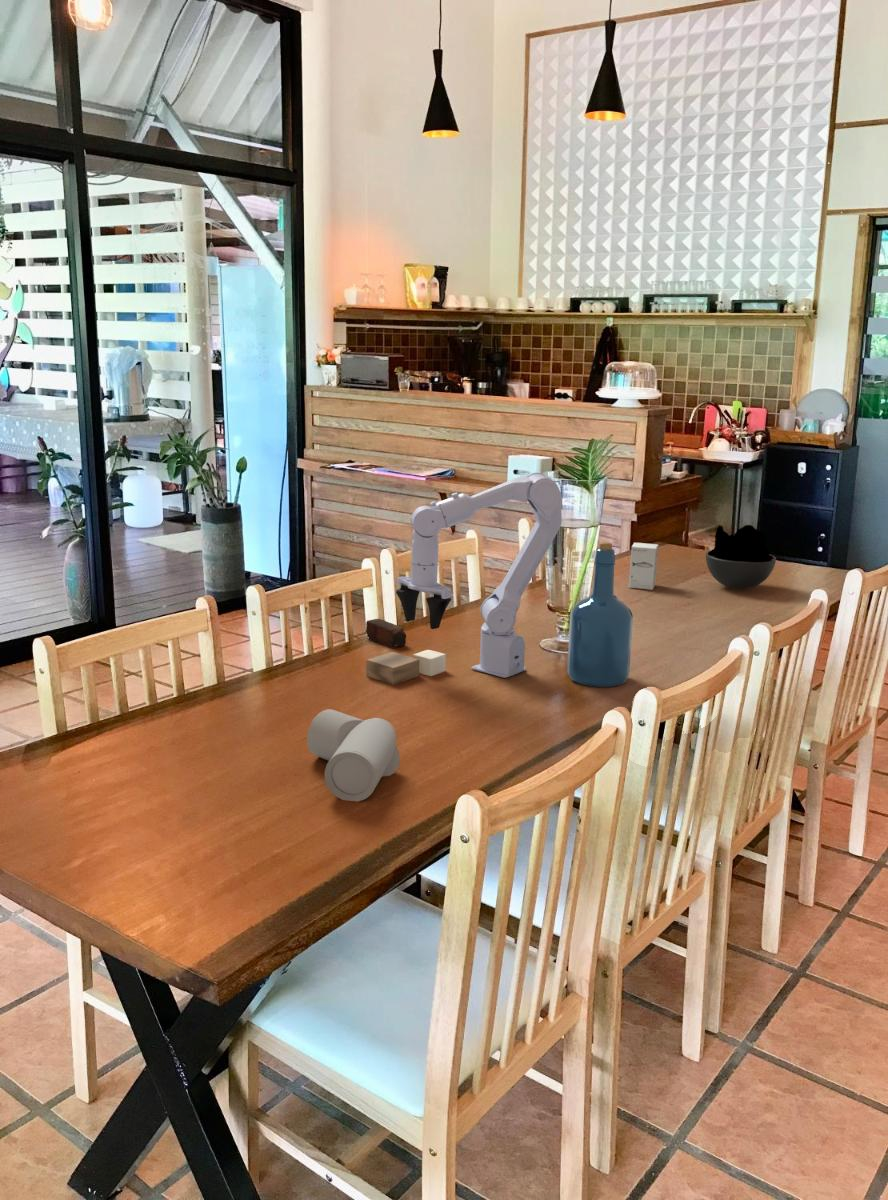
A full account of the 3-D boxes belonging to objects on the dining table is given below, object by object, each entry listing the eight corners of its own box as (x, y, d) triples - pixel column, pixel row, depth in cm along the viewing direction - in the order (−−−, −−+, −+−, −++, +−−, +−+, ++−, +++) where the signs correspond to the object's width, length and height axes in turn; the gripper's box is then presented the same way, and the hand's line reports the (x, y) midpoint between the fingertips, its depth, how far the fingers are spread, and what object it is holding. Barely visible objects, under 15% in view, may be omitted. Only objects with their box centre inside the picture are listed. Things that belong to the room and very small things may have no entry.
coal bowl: (780, 587, 311) (786, 525, 306) (762, 600, 294) (768, 535, 290) (715, 577, 321) (720, 518, 316) (693, 590, 304) (699, 527, 300)
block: (445, 671, 227) (445, 654, 226) (430, 676, 223) (430, 659, 222) (427, 666, 230) (428, 649, 229) (413, 671, 226) (413, 654, 225)
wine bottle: (627, 691, 216) (637, 550, 208) (564, 686, 218) (571, 546, 211) (629, 671, 229) (638, 538, 221) (569, 666, 231) (576, 534, 224)
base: (418, 677, 223) (419, 659, 222) (393, 686, 217) (393, 667, 216) (392, 669, 228) (392, 651, 227) (366, 677, 222) (366, 659, 221)
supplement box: (627, 588, 305) (630, 546, 302) (631, 582, 312) (633, 541, 309) (653, 590, 303) (656, 548, 300) (655, 585, 310) (658, 543, 307)
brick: (365, 639, 250) (365, 620, 248) (378, 636, 252) (378, 617, 251) (393, 649, 242) (393, 630, 241) (406, 646, 245) (406, 627, 243)
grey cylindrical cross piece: (436, 768, 173) (350, 738, 185) (428, 714, 168) (341, 686, 181) (363, 825, 161) (277, 788, 173) (352, 768, 156) (265, 734, 169)
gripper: (387, 559, 222) (386, 620, 226) (435, 571, 213) (433, 635, 216) (411, 555, 227) (409, 615, 231) (459, 567, 218) (456, 629, 221)
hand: (422, 624), depth 224 cm, fingers open, 7 cm apart
